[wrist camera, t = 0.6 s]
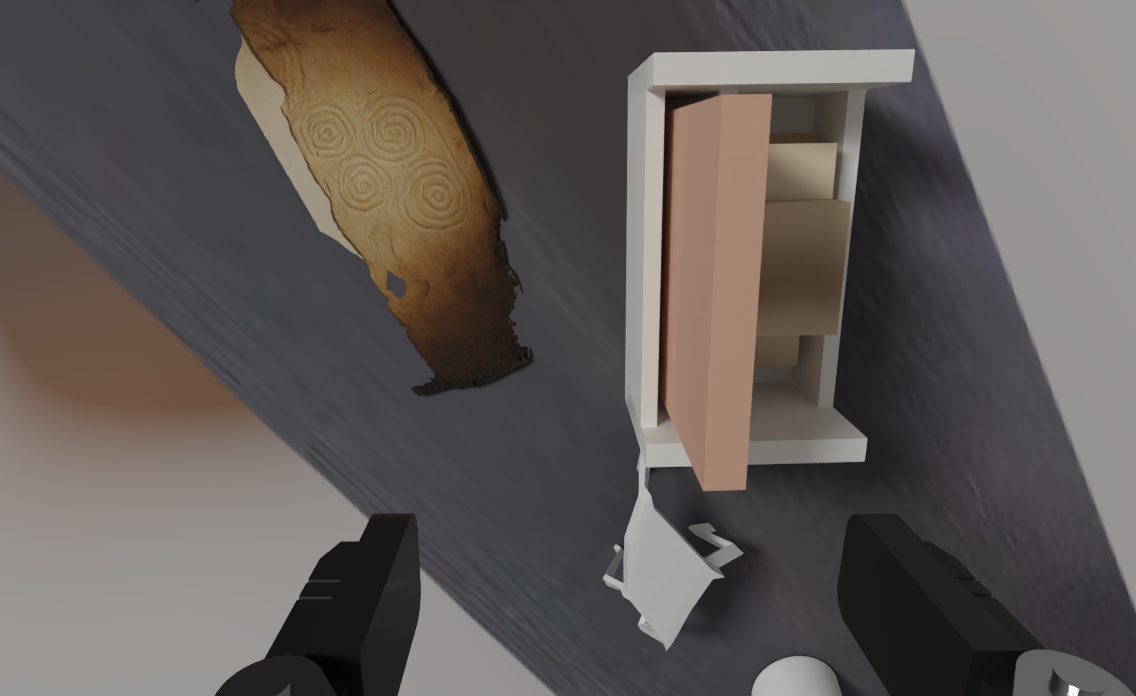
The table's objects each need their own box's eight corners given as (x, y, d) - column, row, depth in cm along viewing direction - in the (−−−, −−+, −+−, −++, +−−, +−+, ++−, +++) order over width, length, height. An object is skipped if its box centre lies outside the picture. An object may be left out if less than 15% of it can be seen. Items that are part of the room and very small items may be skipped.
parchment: (184, -8, 34) (174, -11, 33) (354, -102, 32) (348, -108, 32) (421, 406, 41) (418, 411, 40) (568, 340, 39) (568, 345, 39)
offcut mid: (735, 144, 33) (750, 144, 30) (816, 143, 33) (837, 142, 30) (725, 322, 35) (738, 335, 33) (801, 321, 35) (819, 333, 33)
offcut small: (746, 200, 31) (759, 204, 29) (832, 199, 31) (851, 202, 29) (739, 325, 33) (751, 336, 31) (820, 323, 33) (837, 334, 31)
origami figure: (748, 566, 44) (772, 617, 39) (630, 613, 45) (640, 668, 40) (681, 412, 41) (699, 447, 36) (556, 465, 41) (557, 506, 37)
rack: (628, 76, 35) (654, 52, 26) (825, 73, 35) (915, 49, 27) (625, 399, 40) (645, 467, 31) (797, 394, 40) (864, 461, 32)
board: (655, 115, 35) (722, 94, 21) (685, 115, 35) (772, 93, 21) (649, 372, 39) (703, 491, 25) (677, 371, 39) (745, 489, 25)
